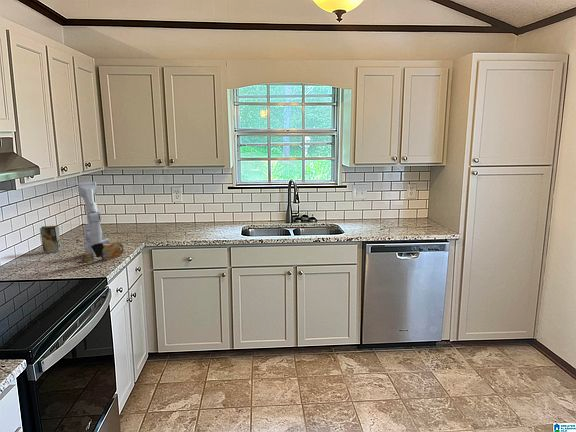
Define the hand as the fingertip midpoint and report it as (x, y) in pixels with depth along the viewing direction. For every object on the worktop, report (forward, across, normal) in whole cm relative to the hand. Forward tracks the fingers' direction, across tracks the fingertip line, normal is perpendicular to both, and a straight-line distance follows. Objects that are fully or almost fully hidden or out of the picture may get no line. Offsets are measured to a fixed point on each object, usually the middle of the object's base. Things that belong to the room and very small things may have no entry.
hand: (98, 256), depth 240 cm
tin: (+3, +9, 0) cm, 9 cm away
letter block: (+3, -2, +8) cm, 9 cm away
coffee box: (+3, 0, +49) cm, 49 cm away
